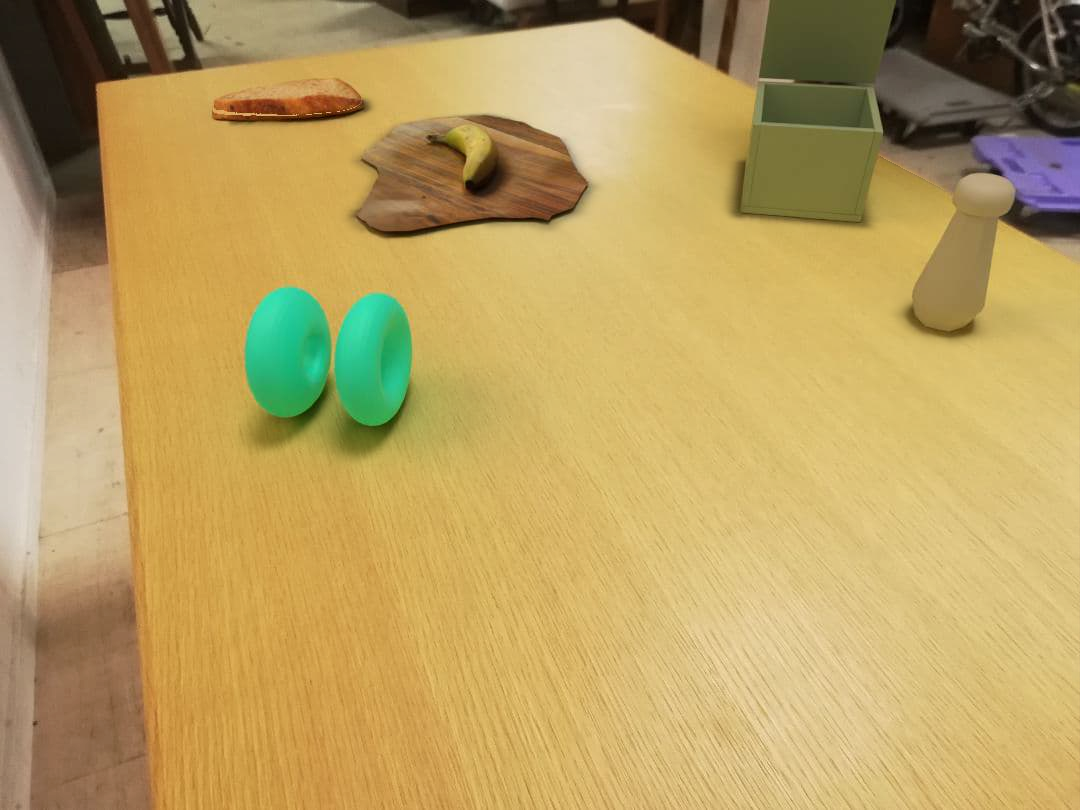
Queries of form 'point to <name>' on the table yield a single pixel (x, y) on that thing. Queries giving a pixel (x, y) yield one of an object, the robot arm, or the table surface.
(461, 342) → the table surface
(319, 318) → the donuts
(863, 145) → the storage bin
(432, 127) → the cutting board
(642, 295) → the table surface
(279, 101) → the bread slice
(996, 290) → the table surface
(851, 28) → the box lid
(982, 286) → the salt shaker
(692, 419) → the table surface
